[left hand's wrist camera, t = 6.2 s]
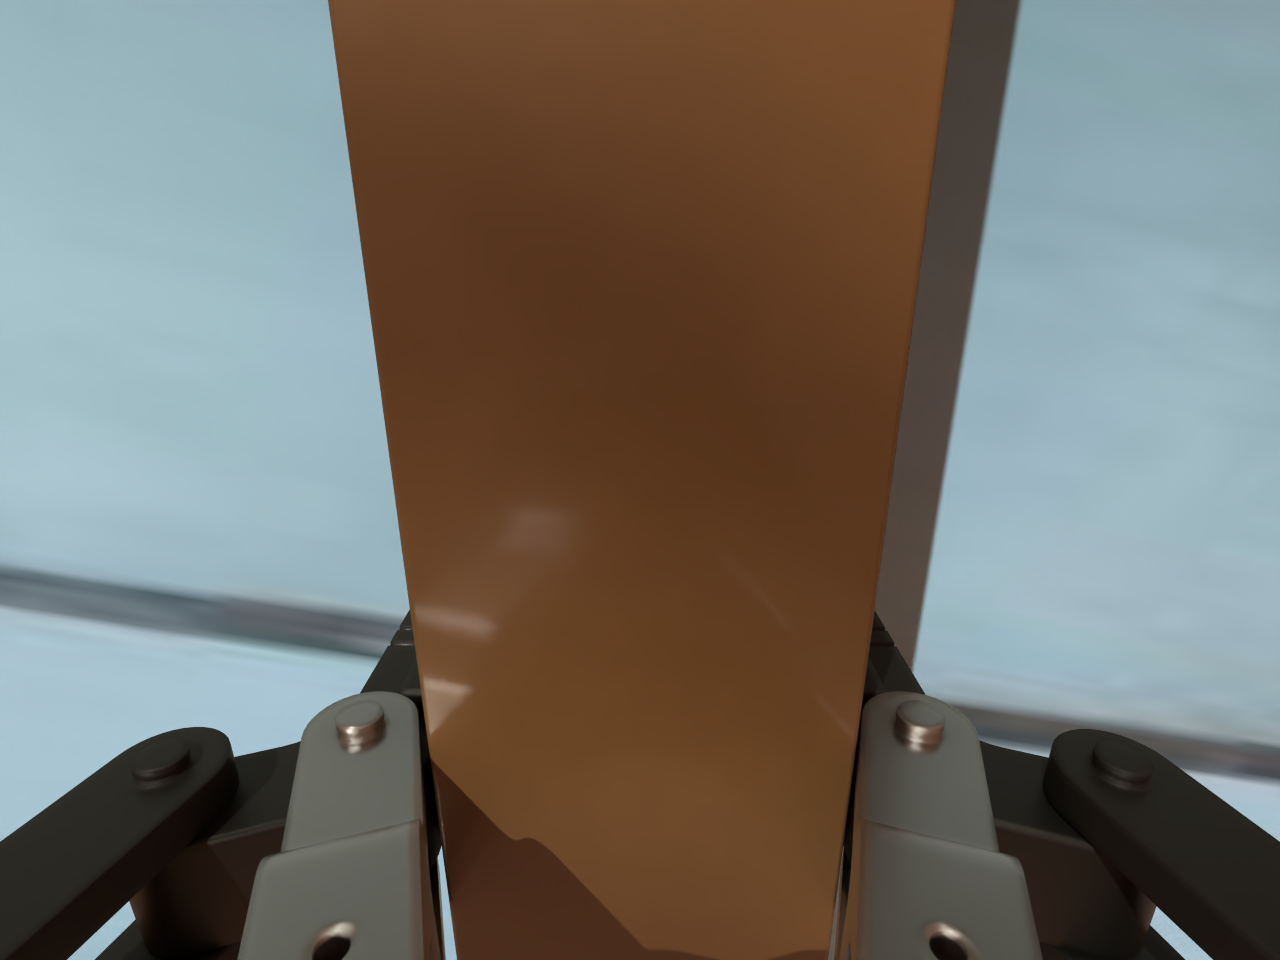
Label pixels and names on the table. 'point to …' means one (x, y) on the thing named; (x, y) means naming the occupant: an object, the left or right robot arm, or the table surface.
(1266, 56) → the table surface
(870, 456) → the bar
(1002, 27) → the table surface
